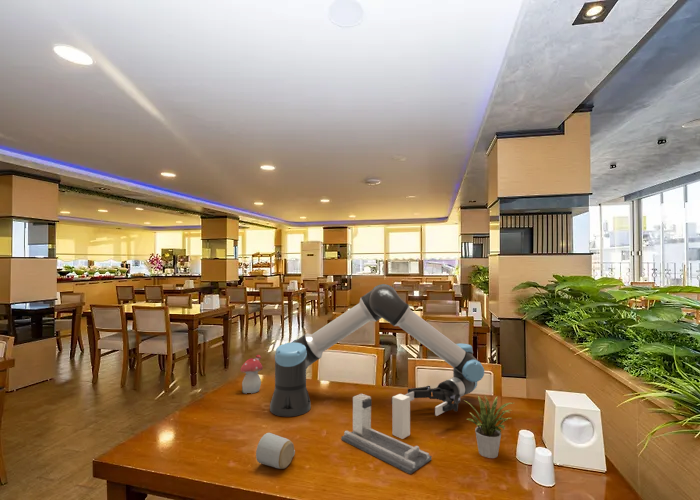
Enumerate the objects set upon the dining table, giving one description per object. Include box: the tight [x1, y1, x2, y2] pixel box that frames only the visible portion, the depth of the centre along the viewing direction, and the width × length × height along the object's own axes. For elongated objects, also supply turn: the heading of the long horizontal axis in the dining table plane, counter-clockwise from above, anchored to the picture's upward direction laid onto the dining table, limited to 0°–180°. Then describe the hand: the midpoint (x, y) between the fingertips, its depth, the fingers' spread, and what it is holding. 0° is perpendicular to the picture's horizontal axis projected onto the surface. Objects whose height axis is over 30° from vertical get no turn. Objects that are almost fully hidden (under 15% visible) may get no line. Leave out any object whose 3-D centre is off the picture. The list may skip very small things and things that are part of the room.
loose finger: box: [391, 393, 411, 440], centre depth 117 cm, size 5×4×12 cm
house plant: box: [463, 394, 514, 459], centre depth 105 cm, size 14×14×16 cm
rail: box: [341, 393, 432, 475], centre depth 108 cm, size 26×10×13 cm, turn 45°
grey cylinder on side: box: [255, 432, 296, 470], centre depth 101 cm, size 11×8×8 cm
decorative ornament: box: [240, 354, 263, 394], centre depth 156 cm, size 9×7×15 cm
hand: (418, 405), depth 124 cm, fingers open, 13 cm apart
